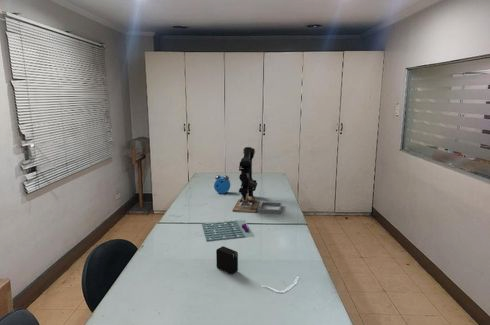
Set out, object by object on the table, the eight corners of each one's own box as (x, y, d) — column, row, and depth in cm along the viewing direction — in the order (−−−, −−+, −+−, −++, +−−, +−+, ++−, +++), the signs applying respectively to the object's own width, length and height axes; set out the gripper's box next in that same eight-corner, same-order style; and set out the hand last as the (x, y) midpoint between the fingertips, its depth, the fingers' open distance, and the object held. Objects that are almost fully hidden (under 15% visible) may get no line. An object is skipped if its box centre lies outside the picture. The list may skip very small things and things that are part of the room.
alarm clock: (230, 192, 276) (230, 174, 273) (229, 194, 270) (229, 176, 267) (215, 191, 277) (214, 174, 274) (214, 193, 271) (213, 176, 268)
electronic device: (222, 264, 161) (222, 245, 159) (238, 271, 155) (237, 251, 153) (216, 268, 158) (216, 248, 156) (232, 275, 152) (231, 255, 149)
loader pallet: (238, 200, 255) (238, 195, 254) (259, 201, 252) (259, 196, 251) (232, 211, 232) (232, 205, 231) (255, 212, 229) (255, 207, 228)
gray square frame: (261, 204, 245) (261, 201, 244) (281, 206, 243) (281, 202, 242) (258, 212, 230) (258, 209, 229) (280, 213, 227) (280, 210, 227)
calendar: (201, 224, 212) (201, 220, 211) (243, 220, 218) (243, 216, 218) (206, 242, 186) (206, 238, 185) (254, 237, 192) (254, 233, 192)
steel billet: (242, 200, 239) (242, 190, 237) (248, 201, 238) (248, 190, 236) (241, 202, 234) (241, 192, 233) (248, 203, 234) (247, 192, 232)
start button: (244, 199, 251) (244, 196, 251) (252, 199, 250) (252, 196, 250) (242, 202, 245) (242, 198, 245) (251, 202, 244) (251, 199, 243)
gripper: (254, 181, 222) (254, 203, 225) (258, 174, 240) (258, 195, 243) (238, 181, 224) (238, 202, 227) (243, 174, 242) (243, 194, 245)
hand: (245, 198), depth 236 cm, fingers closed on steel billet, 4 cm apart
